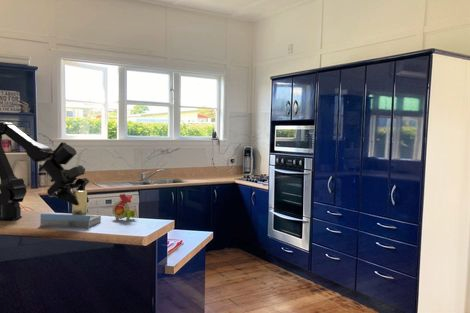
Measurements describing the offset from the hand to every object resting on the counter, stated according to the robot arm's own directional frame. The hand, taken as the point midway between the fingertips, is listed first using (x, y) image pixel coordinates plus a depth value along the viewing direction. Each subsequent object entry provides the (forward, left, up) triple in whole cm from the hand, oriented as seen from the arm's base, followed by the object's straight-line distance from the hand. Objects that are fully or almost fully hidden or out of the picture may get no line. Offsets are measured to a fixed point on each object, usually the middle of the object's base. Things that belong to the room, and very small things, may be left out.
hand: (82, 203), depth 144 cm
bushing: (-1, 0, -8) cm, 8 cm away
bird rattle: (+12, +11, -8) cm, 18 cm away
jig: (-4, 0, -8) cm, 9 cm away
